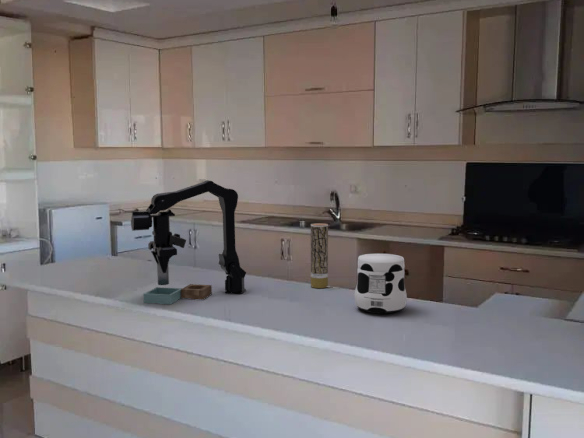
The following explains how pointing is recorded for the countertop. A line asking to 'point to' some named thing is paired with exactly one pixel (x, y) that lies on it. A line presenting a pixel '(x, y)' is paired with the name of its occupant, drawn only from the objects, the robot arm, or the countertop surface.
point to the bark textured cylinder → (319, 255)
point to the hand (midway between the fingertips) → (163, 271)
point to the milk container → (380, 283)
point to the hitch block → (196, 291)
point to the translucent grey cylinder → (162, 276)
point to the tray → (162, 295)
